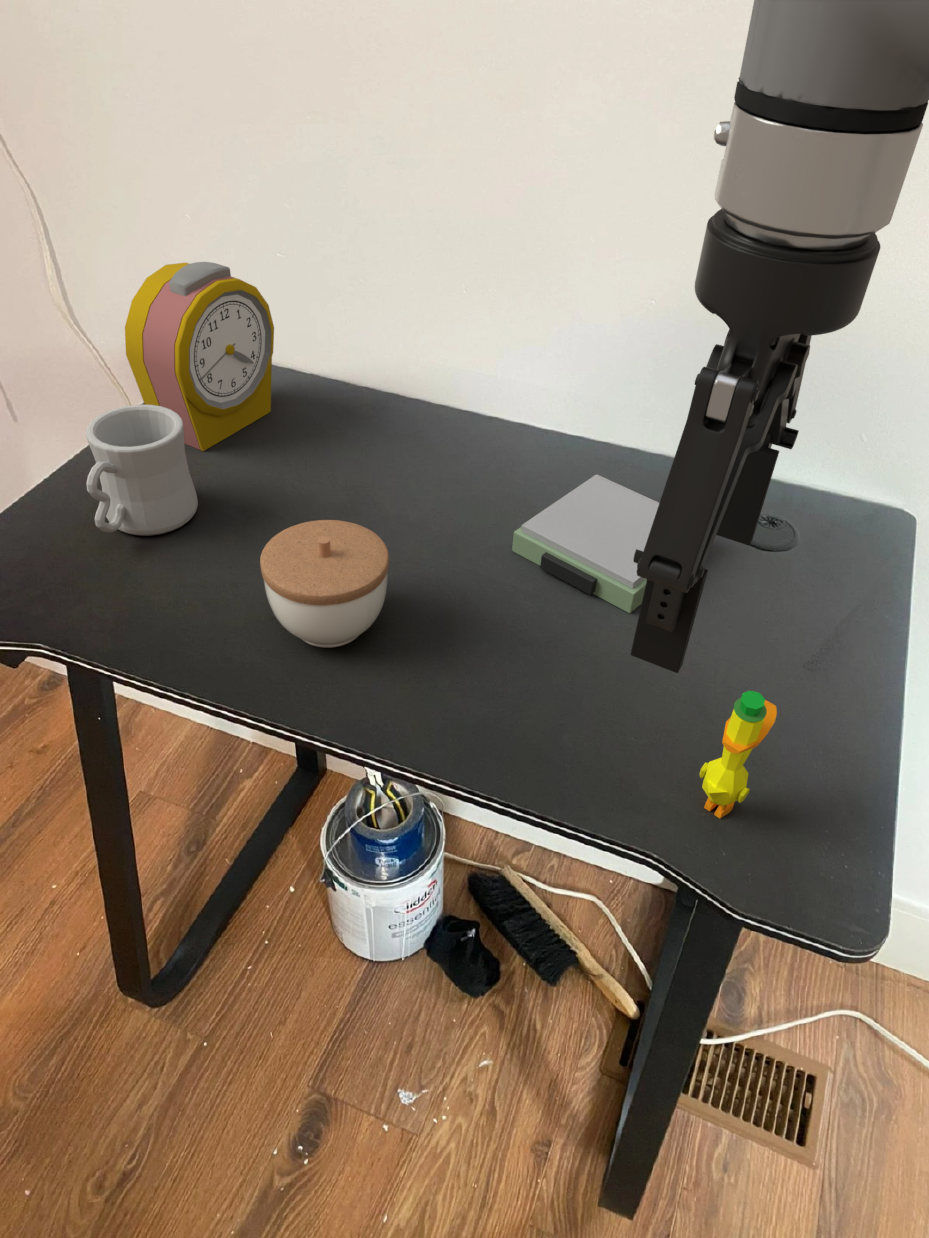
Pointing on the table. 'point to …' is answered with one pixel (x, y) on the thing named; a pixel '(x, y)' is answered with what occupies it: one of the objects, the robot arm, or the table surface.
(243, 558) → the table surface
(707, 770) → the toy figure
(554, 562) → the kitchen scale
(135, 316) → the alarm clock
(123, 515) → the mug
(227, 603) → the table surface
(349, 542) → the trinket box
